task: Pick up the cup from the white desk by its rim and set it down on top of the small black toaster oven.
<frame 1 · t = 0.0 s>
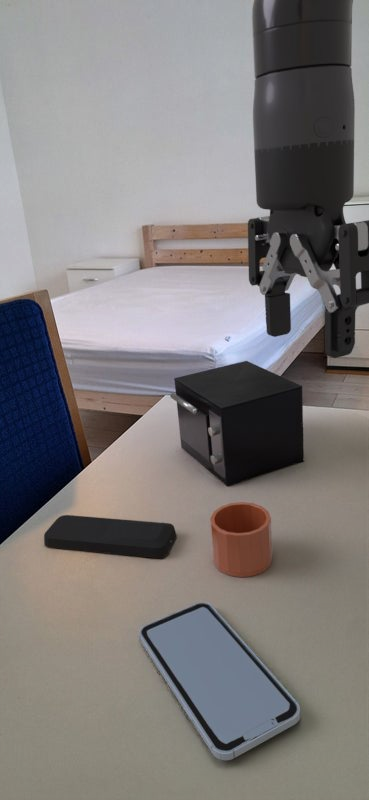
hand: (306, 344, 52), 24 cm above the table, tool pointing down, fingers open, 8 cm apart
smartphone: (212, 675, 49), on the table
cup: (242, 558, 63), on the table
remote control: (110, 541, 68), on the table
toaster oven: (239, 454, 85), on the table
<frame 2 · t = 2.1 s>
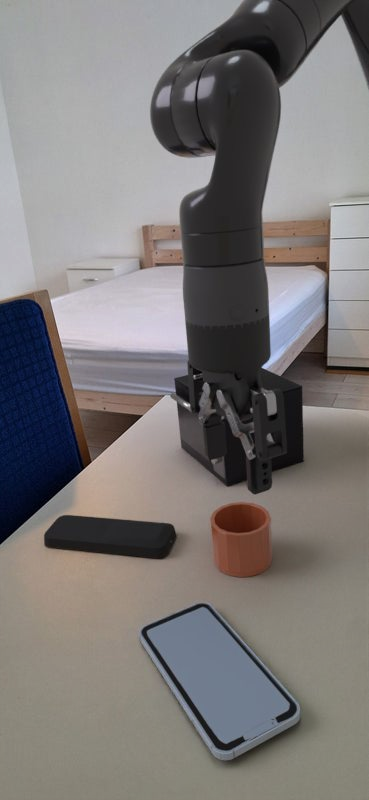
hand: (236, 472, 59), 10 cm above the table, tool pointing down, fingers open, 8 cm apart
nothing on the table moved.
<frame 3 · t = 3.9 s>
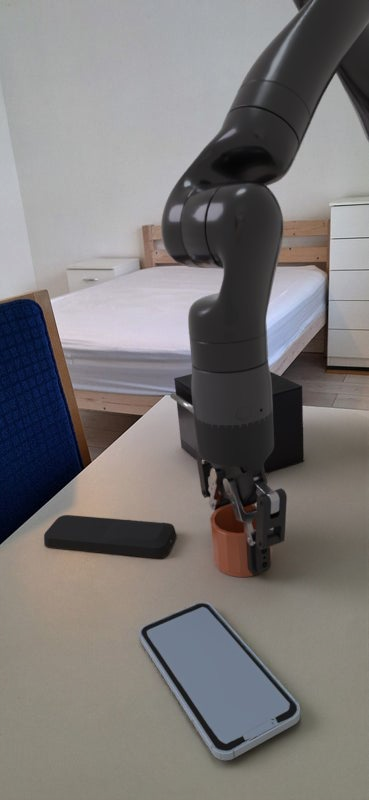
hand: (242, 553, 63), 1 cm above the table, tool pointing down, fingers closed on cup, 6 cm apart
cup: (242, 558, 63), on the table, touching gripper
everything else where it was.
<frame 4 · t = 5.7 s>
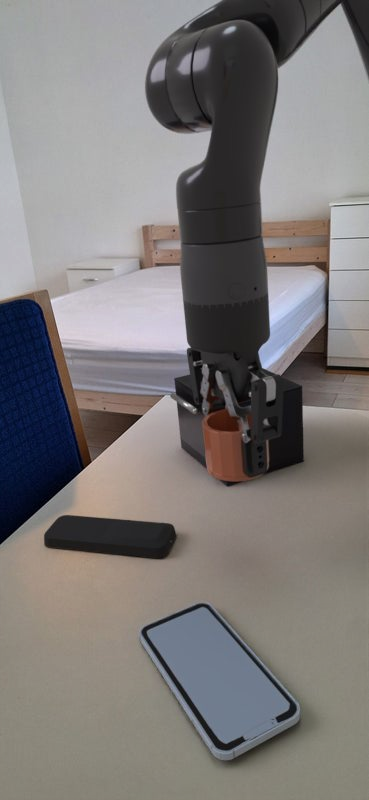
hand: (237, 459, 59), 12 cm above the table, tool pointing down, fingers closed on cup, 6 cm apart
cup: (237, 466, 59), point 11 cm above the table, touching gripper
everything else where it was.
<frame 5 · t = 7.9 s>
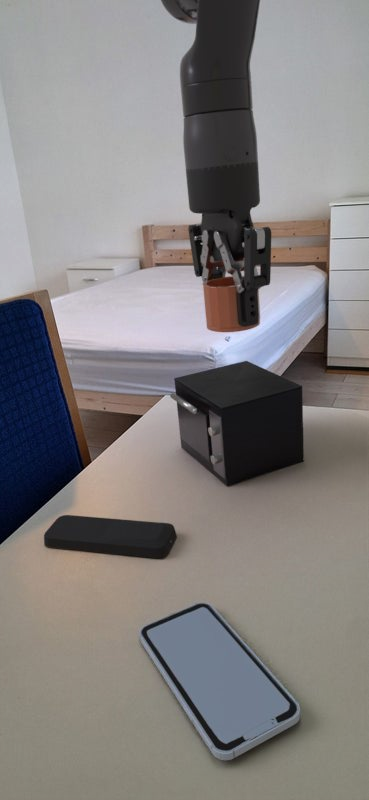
hand: (232, 319, 68), 22 cm above the table, tool pointing down, fingers closed on cup, 6 cm apart
cup: (233, 324, 68), point 22 cm above the table, touching gripper
everything else where it was.
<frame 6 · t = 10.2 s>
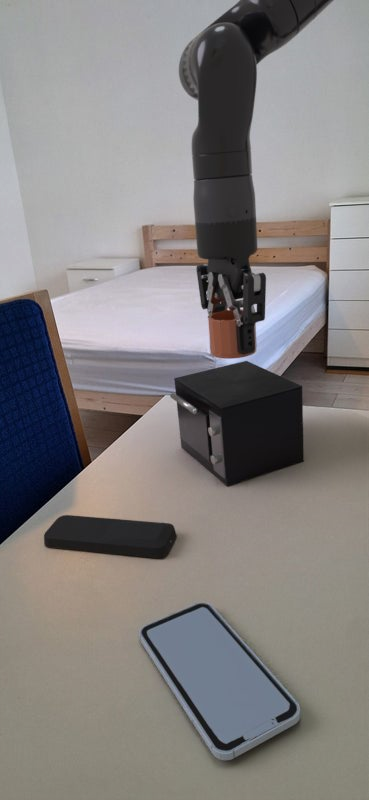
hand: (233, 346, 79), 16 cm above the table, tool pointing down, fingers closed on cup, 6 cm apart
cup: (233, 351, 80), point 15 cm above the table, touching gripper
everything else where it was.
when the fingers open (12 cm above the table, at t = 11.9 s): cup stays where it is, resting on toaster oven.
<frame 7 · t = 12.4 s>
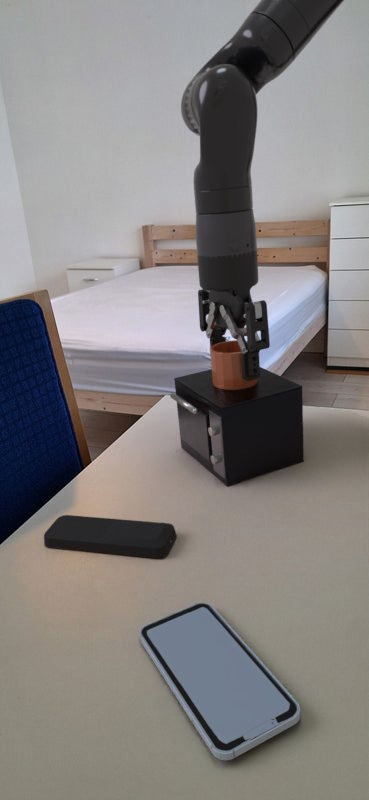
hand: (234, 371, 81), 13 cm above the table, tool pointing down, fingers open, 8 cm apart
cup: (235, 382, 81), point 11 cm above the table, touching toaster oven
everything else where it was.
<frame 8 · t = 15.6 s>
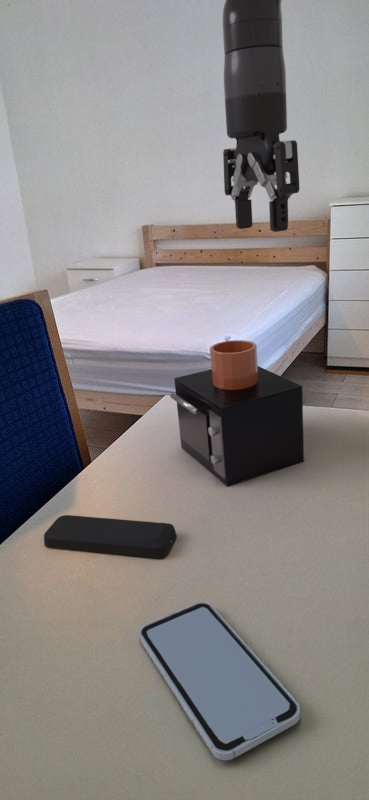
hand: (260, 229, 79), 30 cm above the table, tool pointing down, fingers open, 8 cm apart
nothing on the table moved.
at the end: cup inside the target area on the toaster oven (0.0 cm from its centre), point 11.0 cm above the toaster oven's base; cup tilted 0°; the gripper is holding nothing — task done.
